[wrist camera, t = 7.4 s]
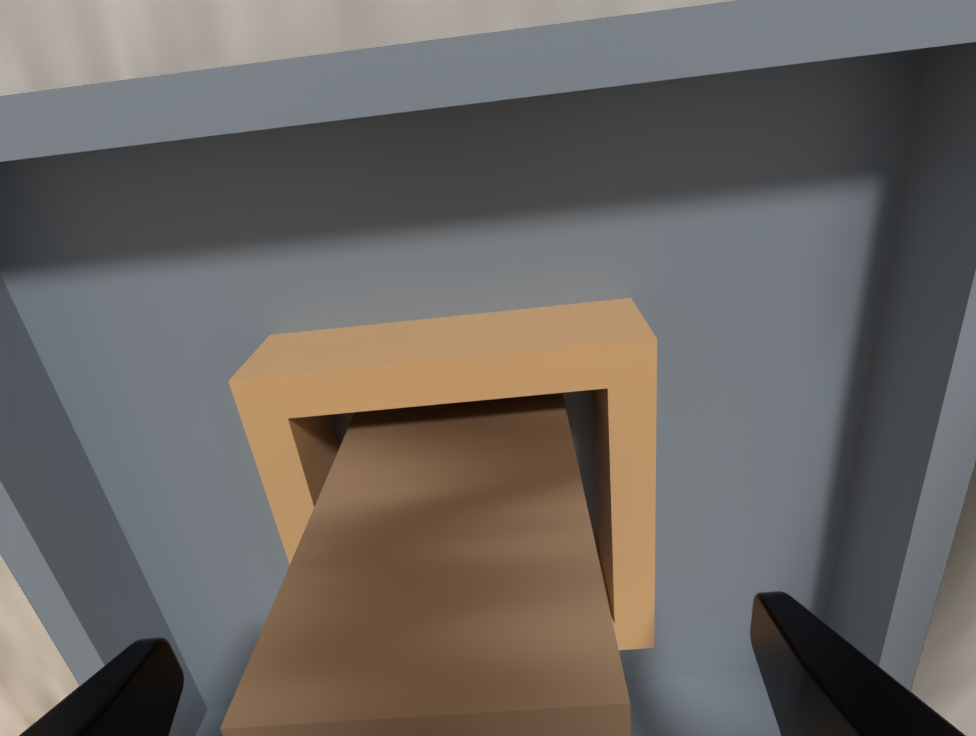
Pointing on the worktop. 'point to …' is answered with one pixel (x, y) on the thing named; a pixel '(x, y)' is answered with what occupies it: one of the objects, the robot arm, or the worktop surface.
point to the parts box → (507, 323)
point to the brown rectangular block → (442, 588)
